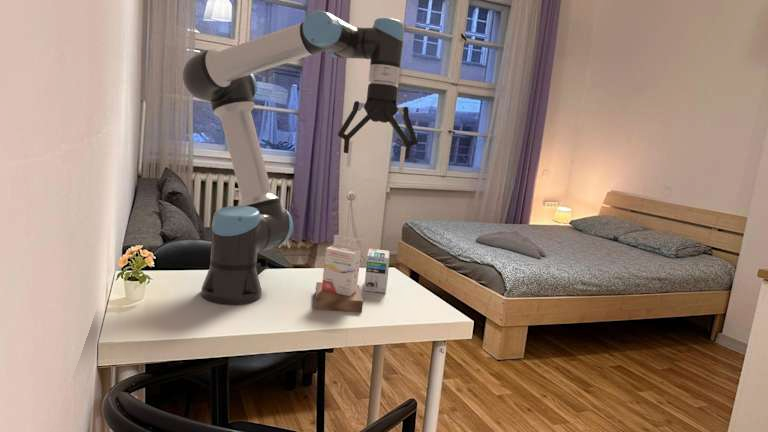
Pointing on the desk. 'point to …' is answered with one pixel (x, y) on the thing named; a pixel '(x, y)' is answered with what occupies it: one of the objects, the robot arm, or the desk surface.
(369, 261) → the light bulb box
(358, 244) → the ink cartridge box
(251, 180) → the robot arm
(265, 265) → the battery charger
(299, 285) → the desk surface
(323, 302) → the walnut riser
